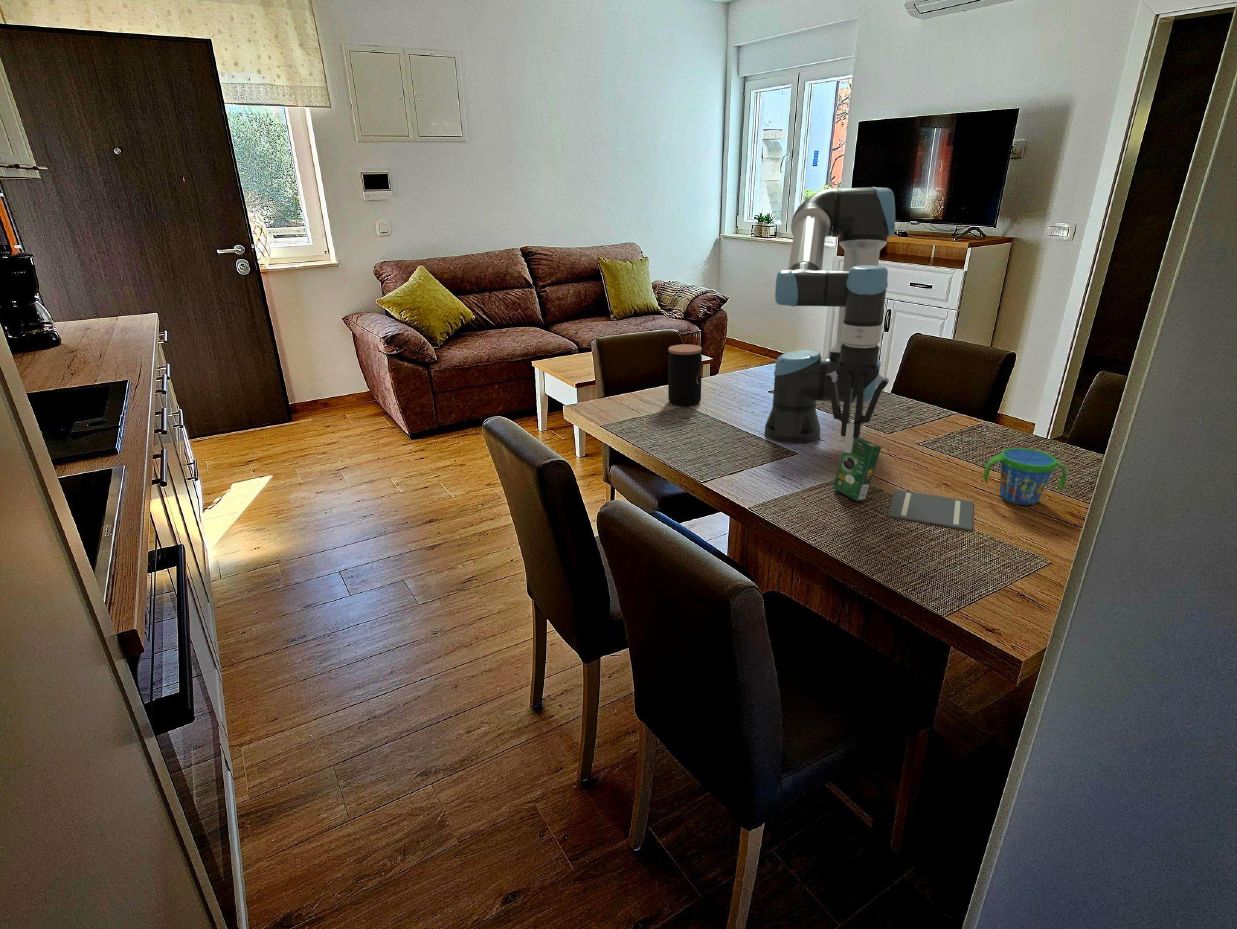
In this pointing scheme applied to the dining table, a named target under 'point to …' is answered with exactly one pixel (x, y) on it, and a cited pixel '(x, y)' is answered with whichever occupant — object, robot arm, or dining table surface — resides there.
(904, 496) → the mat
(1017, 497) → the snack cup
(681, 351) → the coffee jar
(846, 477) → the coffee box
